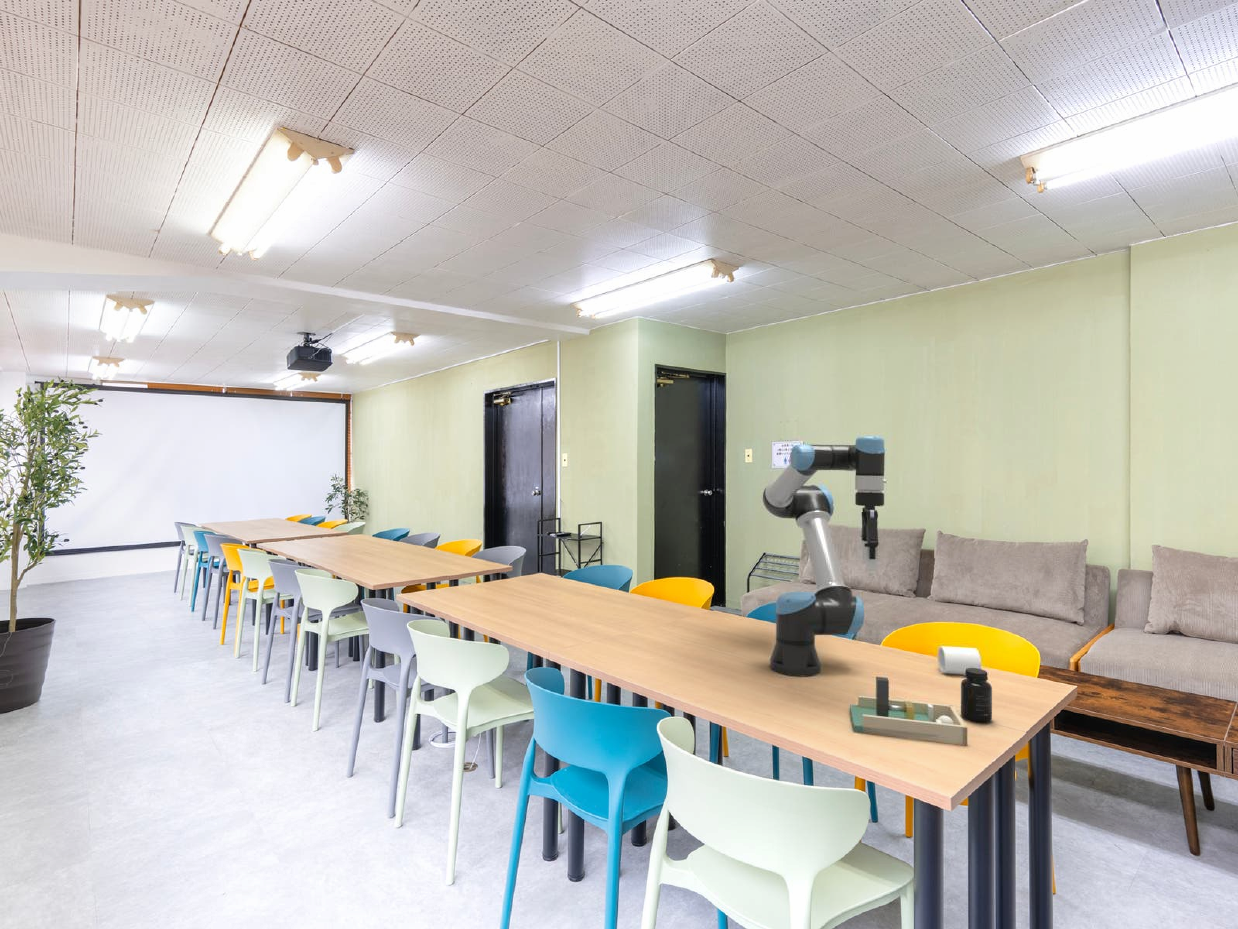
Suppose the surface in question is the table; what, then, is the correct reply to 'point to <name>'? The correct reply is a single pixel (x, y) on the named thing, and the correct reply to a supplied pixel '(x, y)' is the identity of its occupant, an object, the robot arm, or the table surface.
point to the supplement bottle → (976, 696)
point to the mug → (958, 659)
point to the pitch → (909, 721)
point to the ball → (945, 720)
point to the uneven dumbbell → (883, 701)
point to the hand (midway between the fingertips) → (869, 567)
